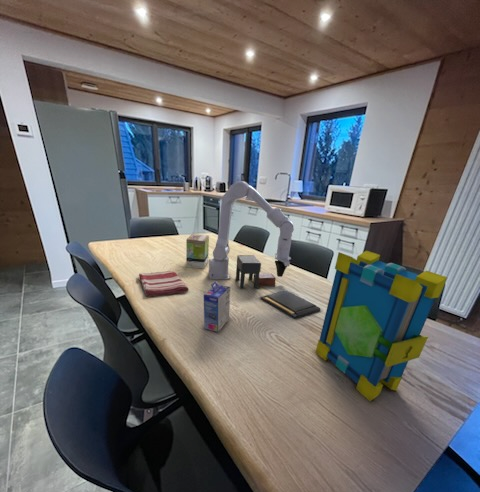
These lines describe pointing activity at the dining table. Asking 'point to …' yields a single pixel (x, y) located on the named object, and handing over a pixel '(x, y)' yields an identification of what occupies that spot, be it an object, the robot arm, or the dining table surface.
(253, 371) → the dining table surface
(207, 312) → the ink cartridge box
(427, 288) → the decorative book
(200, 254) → the tea box
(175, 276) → the dish towel
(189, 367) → the dining table surface
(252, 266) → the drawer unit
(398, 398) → the dining table surface
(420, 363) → the dining table surface
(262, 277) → the storage box
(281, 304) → the wallet
